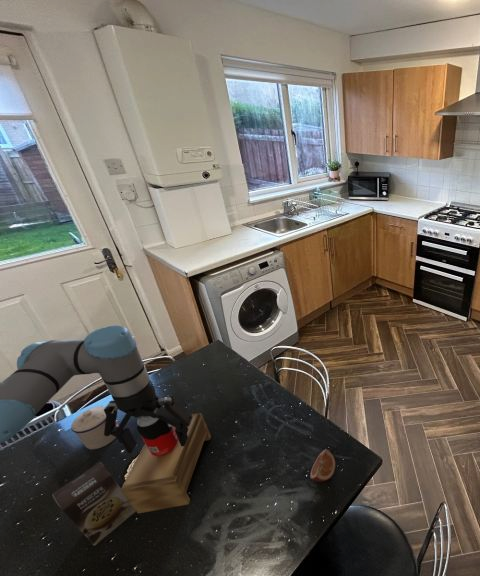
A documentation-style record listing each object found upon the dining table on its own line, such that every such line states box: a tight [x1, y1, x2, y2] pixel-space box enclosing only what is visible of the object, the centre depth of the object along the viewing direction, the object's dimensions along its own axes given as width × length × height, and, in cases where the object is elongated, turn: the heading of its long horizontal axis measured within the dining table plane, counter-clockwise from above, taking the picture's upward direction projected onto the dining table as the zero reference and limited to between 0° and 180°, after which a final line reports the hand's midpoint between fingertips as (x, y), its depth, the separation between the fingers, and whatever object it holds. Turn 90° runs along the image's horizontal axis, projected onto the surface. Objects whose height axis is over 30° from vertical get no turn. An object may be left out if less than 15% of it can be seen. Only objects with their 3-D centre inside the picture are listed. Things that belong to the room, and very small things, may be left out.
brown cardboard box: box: [52, 461, 137, 546], centre depth 74 cm, size 9×6×16 cm
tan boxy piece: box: [120, 412, 212, 514], centre depth 86 cm, size 12×20×12 cm, turn 11°
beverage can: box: [136, 408, 178, 456], centre depth 80 cm, size 6×6×12 cm
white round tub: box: [70, 405, 120, 450], centre depth 96 cm, size 12×9×12 cm
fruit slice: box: [309, 448, 336, 483], centre depth 87 cm, size 8×7×5 cm
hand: (159, 445), depth 83 cm, fingers open, 12 cm apart
